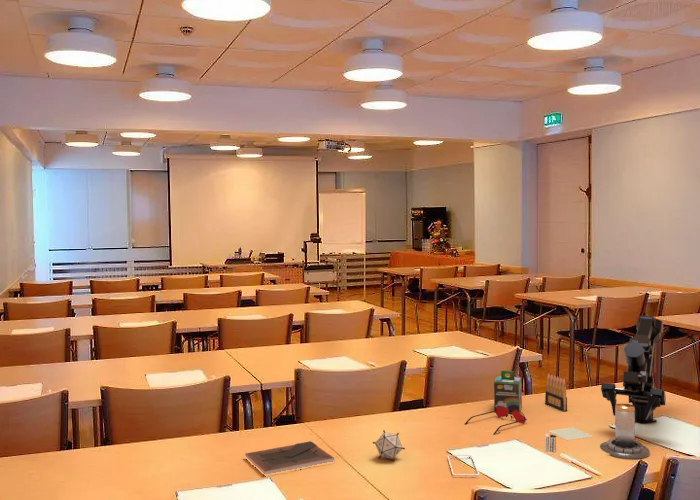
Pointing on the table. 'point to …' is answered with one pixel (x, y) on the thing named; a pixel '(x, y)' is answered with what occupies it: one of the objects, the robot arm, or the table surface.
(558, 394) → the ammunition clip
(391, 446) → the game die
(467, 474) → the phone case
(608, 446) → the hub flange
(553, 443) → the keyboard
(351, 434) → the table surface
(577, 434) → the stand pad
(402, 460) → the table surface
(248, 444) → the table surface
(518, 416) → the glasses
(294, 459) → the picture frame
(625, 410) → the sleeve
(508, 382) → the chalk box
